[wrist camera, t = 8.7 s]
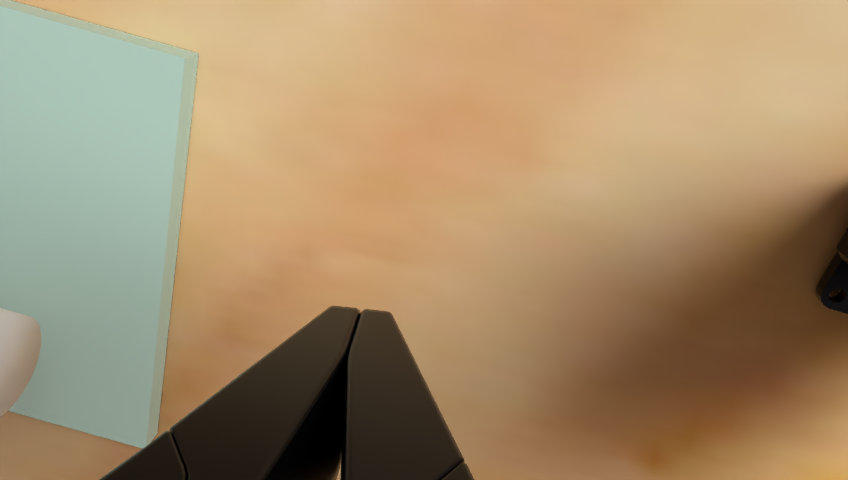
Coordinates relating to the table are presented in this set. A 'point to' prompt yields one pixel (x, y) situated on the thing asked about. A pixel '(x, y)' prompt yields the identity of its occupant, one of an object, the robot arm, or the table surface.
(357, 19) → the table surface
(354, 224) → the table surface
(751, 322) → the table surface
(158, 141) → the pipe rig
